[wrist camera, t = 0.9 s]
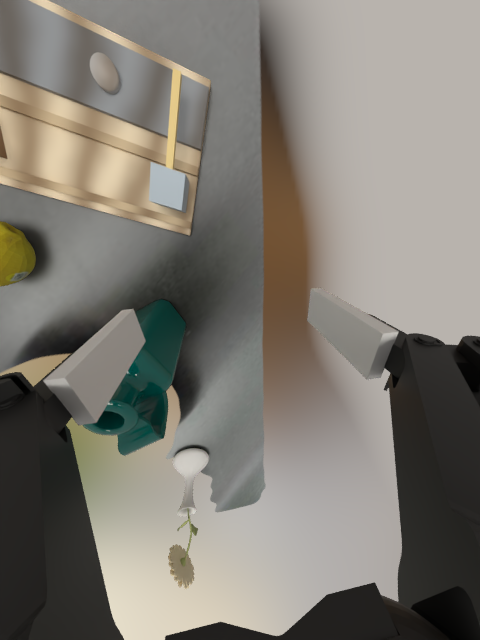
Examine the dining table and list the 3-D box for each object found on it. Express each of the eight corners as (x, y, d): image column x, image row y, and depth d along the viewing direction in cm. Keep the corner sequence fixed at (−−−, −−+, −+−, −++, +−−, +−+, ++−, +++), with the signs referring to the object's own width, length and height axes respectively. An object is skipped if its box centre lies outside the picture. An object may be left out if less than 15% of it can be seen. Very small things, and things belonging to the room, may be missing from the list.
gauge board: (-26, 175, 24) (-96, 160, 18) (-92, -60, 17) (-241, -201, 11) (190, 235, 31) (186, 236, 25) (210, 87, 23) (210, 44, 18)
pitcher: (128, 314, 35) (29, 419, 16) (165, 294, 35) (108, 379, 15) (160, 349, 40) (113, 463, 20) (193, 332, 39) (177, 434, 20)
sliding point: (158, 204, 27) (148, 200, 23) (165, 89, 22) (155, 57, 18) (185, 213, 28) (181, 210, 24) (198, 104, 23) (196, 77, 19)
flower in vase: (168, 449, 57) (141, 590, 34) (204, 440, 57) (200, 573, 35) (181, 469, 63) (166, 599, 41) (213, 460, 63) (215, 585, 41)
